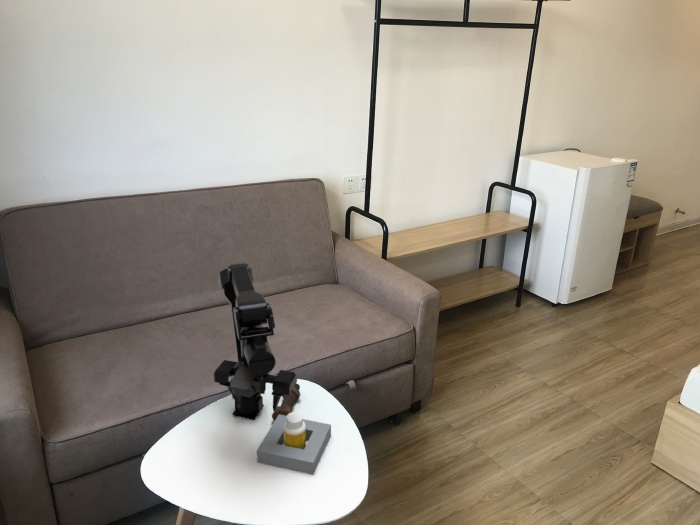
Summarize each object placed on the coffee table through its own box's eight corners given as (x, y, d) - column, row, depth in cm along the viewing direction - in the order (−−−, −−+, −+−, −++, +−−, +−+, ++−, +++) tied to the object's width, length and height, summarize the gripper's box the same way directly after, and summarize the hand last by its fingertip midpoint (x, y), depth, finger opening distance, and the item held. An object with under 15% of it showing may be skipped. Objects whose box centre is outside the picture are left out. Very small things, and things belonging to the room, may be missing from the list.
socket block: (257, 462, 137) (256, 450, 136) (279, 425, 149) (278, 414, 148) (313, 474, 134) (313, 462, 132) (330, 435, 146) (331, 424, 145)
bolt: (297, 397, 164) (285, 430, 150) (282, 388, 163) (268, 420, 149) (307, 383, 162) (296, 415, 148) (292, 373, 161) (279, 405, 147)
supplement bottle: (281, 443, 143) (280, 412, 139) (302, 439, 145) (302, 408, 141) (287, 458, 138) (286, 426, 135) (308, 453, 140) (308, 421, 136)
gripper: (199, 362, 126) (204, 420, 132) (279, 377, 122) (281, 436, 128) (222, 337, 136) (226, 392, 142) (297, 350, 132) (298, 406, 138)
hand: (256, 406), depth 137 cm, fingers open, 9 cm apart
